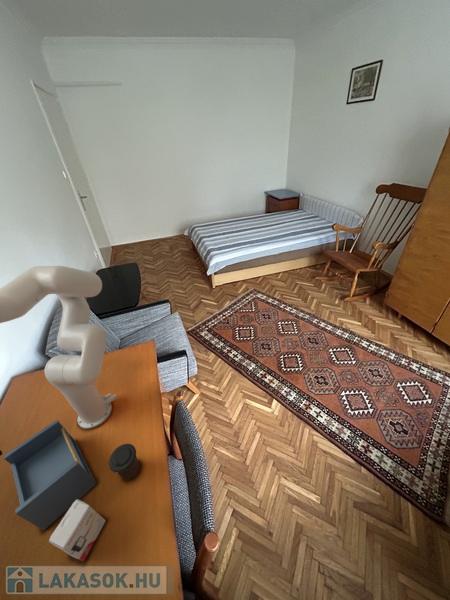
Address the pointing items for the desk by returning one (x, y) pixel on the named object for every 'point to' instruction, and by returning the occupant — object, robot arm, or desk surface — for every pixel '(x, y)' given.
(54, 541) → the ink box
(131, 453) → the coffee cup
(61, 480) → the shelf
